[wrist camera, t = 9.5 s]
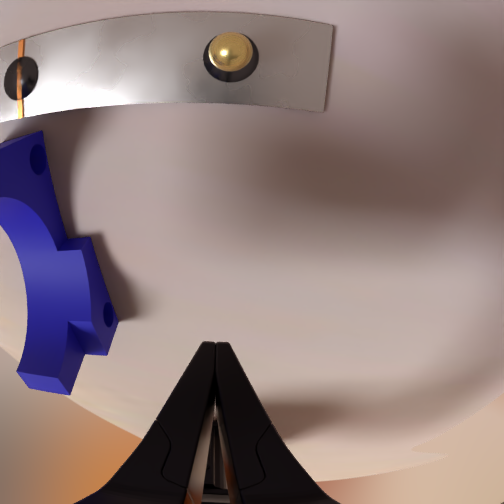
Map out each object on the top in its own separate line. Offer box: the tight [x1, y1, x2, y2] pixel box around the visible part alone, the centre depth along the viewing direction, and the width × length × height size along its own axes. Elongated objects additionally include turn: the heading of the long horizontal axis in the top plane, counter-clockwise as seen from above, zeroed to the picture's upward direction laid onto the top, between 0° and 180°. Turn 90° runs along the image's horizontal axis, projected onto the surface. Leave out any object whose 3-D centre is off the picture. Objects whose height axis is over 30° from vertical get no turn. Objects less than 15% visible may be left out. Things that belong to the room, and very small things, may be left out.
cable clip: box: [0, 130, 119, 395], centre depth 12 cm, size 12×4×6 cm, turn 2°
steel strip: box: [0, 12, 333, 122], centre depth 9 cm, size 4×16×4 cm, turn 86°
